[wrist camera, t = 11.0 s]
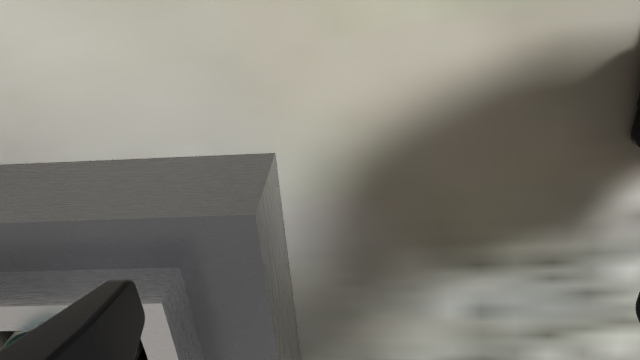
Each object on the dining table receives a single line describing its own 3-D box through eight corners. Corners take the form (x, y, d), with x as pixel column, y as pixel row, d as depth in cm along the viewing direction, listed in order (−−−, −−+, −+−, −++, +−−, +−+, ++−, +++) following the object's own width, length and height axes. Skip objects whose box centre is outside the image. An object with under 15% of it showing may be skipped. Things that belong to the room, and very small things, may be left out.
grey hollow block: (275, 153, 21) (244, 247, 15) (300, 362, 28) (288, 492, 21) (-85, 168, 23) (-260, 261, 16) (20, 365, 29) (-74, 489, 22)
